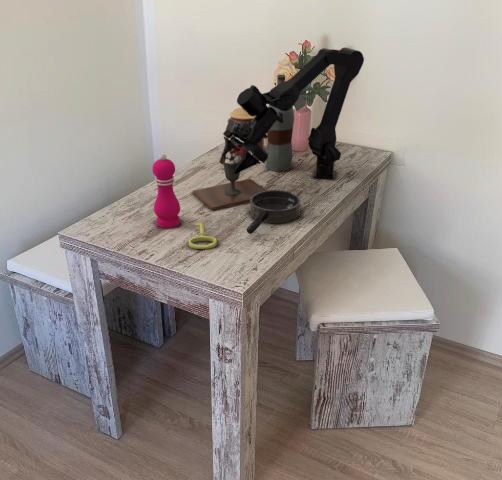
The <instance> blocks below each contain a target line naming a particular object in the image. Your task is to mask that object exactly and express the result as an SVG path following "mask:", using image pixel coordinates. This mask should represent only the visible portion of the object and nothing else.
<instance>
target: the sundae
mask: <svg viewBox="0 0 502 480" xmlns="http://www.w3.org/2000/svg"><path fill="white" fill-rule="evenodd" d="M237 145H238V146H239V145H240V144H237ZM236 147H237V146H236ZM236 147H235V148H236ZM235 148H234V149H232V150H231V151H229V152H228V153H227V154H226V156H225V154H222V153H221V156H222V157H223V159H222V160H221V162H222V163H223V164H222V165H223V169H224V175H225V179H226V180H227V181H229V183H231V186H230V189H227V190H225V194H227V195H238V194H240V193H241V191H240V190H238V189H235V182H237V181H238V179H239V178H240V173H241V172H239V173H237V174H235V173H234V172H233V171H234V169H235V168H236V166H237V165H238V163H239V162H240V160H241V159H242V158H241V156H240V155H239V152H238V151H236V152H235ZM237 148H238V147H237Z"/></svg>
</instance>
